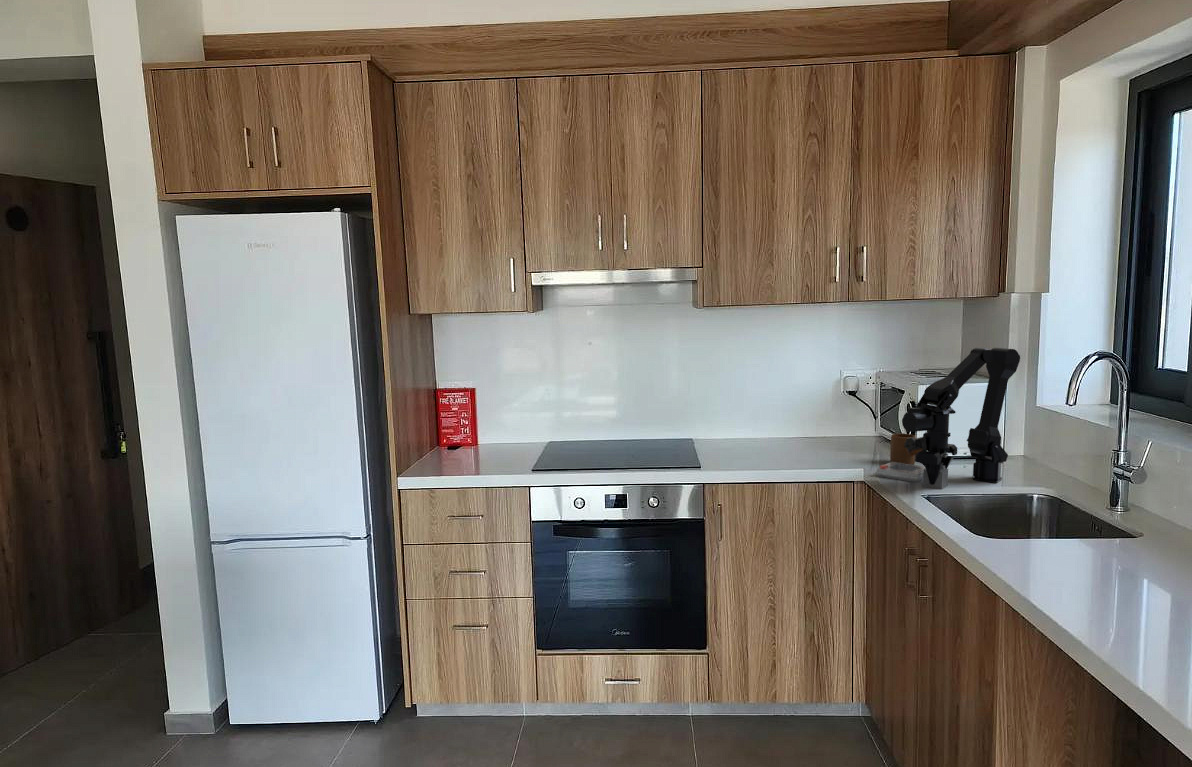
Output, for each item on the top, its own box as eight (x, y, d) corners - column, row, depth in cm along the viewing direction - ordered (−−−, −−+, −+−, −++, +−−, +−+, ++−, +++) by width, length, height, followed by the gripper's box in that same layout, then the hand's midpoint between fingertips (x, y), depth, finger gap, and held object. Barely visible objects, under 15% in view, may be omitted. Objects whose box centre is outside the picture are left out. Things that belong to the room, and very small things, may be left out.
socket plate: (930, 474, 228) (930, 465, 228) (916, 482, 220) (917, 472, 219) (891, 468, 236) (891, 459, 236) (876, 476, 228) (876, 466, 227)
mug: (931, 467, 238) (932, 438, 237) (914, 470, 235) (915, 440, 234) (901, 460, 249) (902, 432, 248) (884, 462, 245) (885, 434, 244)
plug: (947, 485, 215) (948, 466, 215) (941, 489, 212) (942, 469, 211) (928, 482, 219) (929, 463, 218) (922, 486, 215) (923, 466, 214)
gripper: (919, 422, 225) (917, 472, 227) (897, 431, 212) (895, 484, 214) (959, 426, 218) (956, 478, 220) (938, 435, 204) (935, 490, 206)
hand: (935, 482), depth 215 cm, fingers closed on plug, 5 cm apart
